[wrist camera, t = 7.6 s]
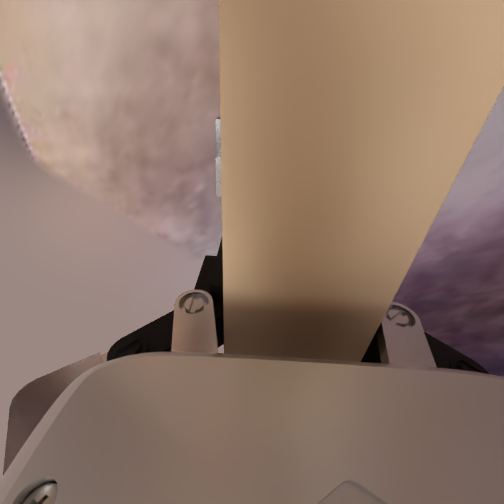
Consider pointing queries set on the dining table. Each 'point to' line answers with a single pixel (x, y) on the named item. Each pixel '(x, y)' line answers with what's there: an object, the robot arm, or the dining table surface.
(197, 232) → the dining table surface
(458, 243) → the dining table surface
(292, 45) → the oak bar
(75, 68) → the dining table surface
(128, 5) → the dining table surface
